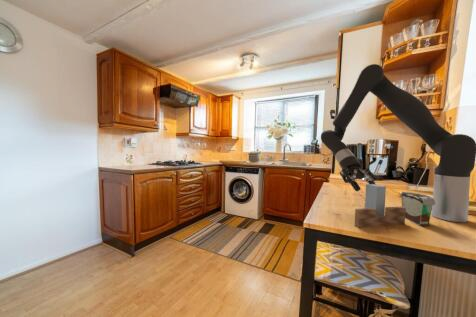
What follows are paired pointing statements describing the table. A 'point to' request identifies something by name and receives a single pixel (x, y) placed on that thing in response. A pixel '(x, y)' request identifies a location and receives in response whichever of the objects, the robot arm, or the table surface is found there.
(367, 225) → the walnut board
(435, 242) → the table surface
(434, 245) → the table surface
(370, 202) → the slate block
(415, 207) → the food container
